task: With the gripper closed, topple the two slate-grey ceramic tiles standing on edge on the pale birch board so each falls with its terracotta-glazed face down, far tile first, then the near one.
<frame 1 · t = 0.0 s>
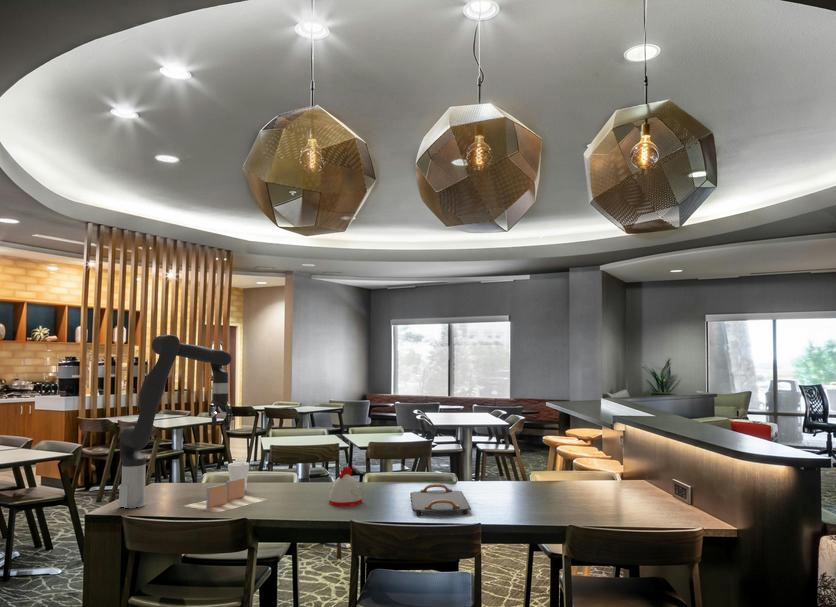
hand: (220, 426, 311), 29 cm above the table, fingers open, 8 cm apart
far tile: (235, 498, 278), point 1 cm above the table, touching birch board
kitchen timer: (345, 503, 272), on the table
foam cup: (238, 492, 296), on the table
near tile: (216, 505, 265), point 1 cm above the table, touching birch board
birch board: (226, 504, 271), on the table
serving board: (438, 507, 263), on the table
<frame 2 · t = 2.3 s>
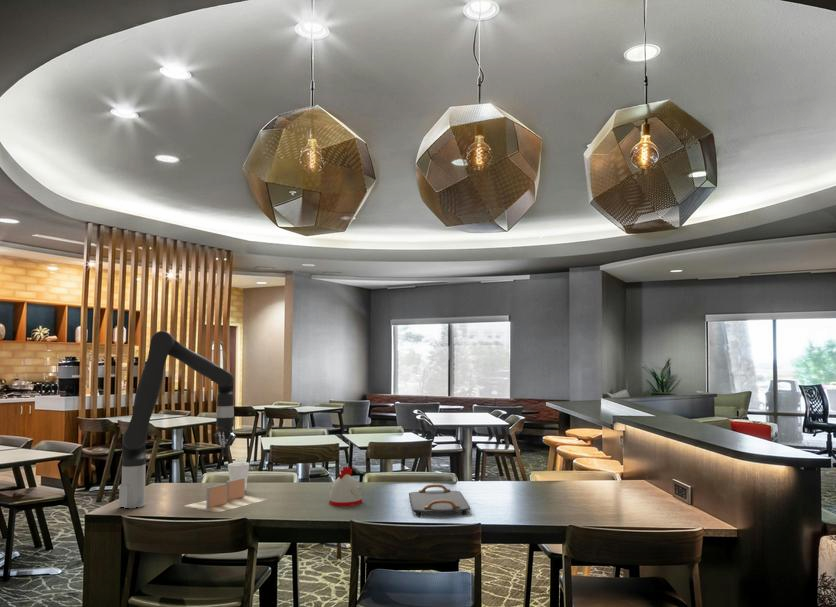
hand: (224, 455, 284), 19 cm above the table, fingers closed
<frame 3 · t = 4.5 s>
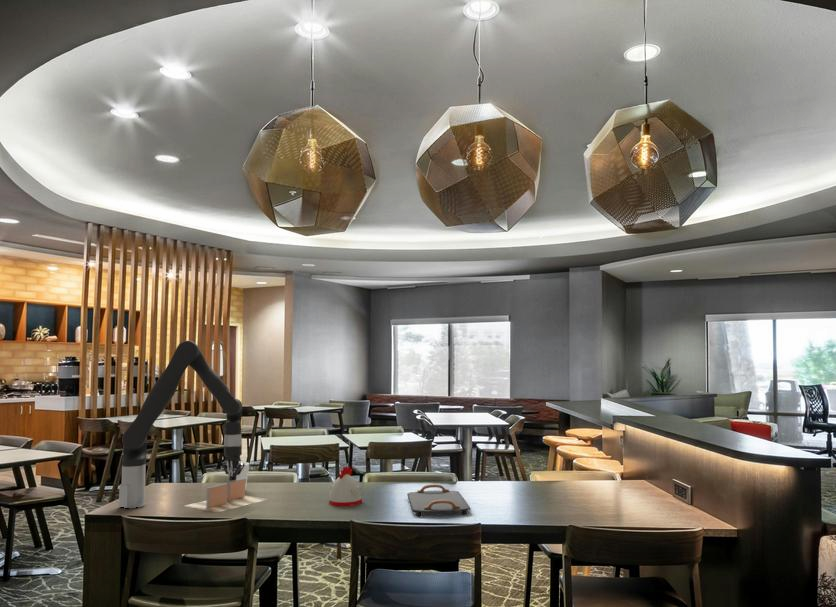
hand: (232, 484, 280), 7 cm above the table, fingers closed
far tile: (235, 498, 278), point 1 cm above the table, tilted 6°, touching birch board
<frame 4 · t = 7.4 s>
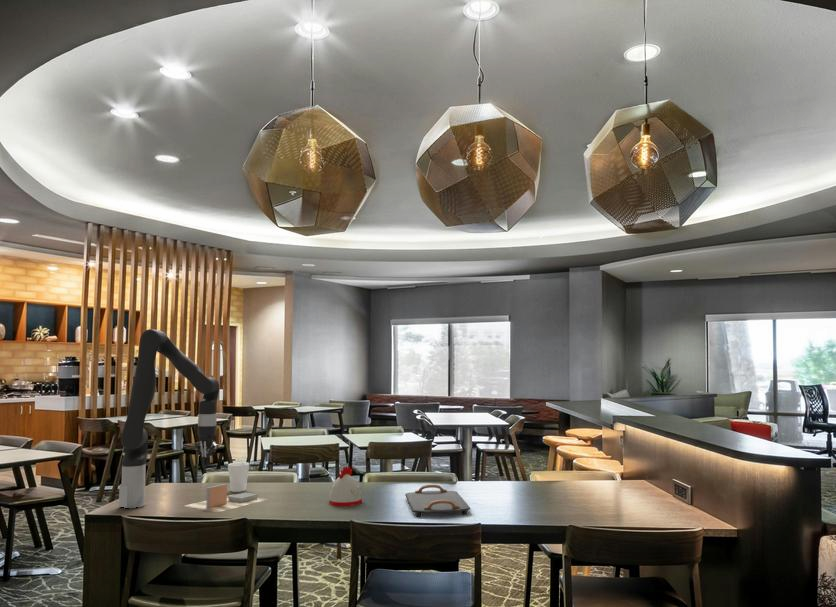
hand: (206, 465, 271), 17 cm above the table, fingers closed
far tile: (236, 496, 278), point 2 cm above the table, tilted 90°, touching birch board
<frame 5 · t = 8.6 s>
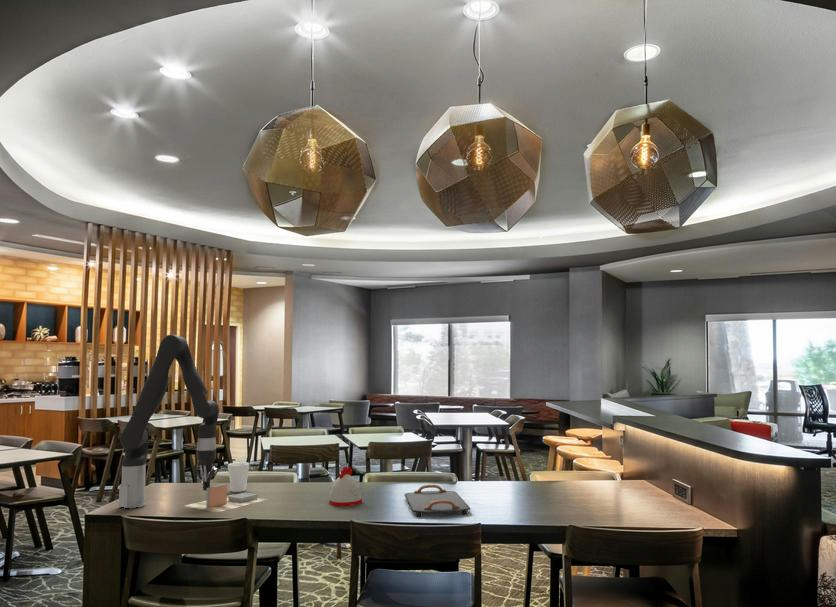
hand: (206, 490, 269), 7 cm above the table, fingers closed
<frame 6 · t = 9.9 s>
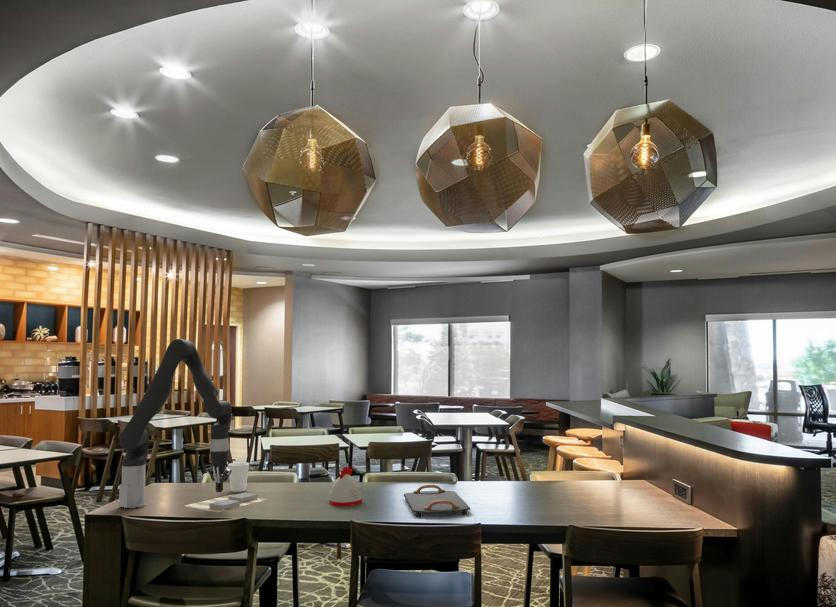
hand: (219, 491, 265), 7 cm above the table, fingers closed
near tile: (218, 503, 265), point 2 cm above the table, tilted 90°, touching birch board
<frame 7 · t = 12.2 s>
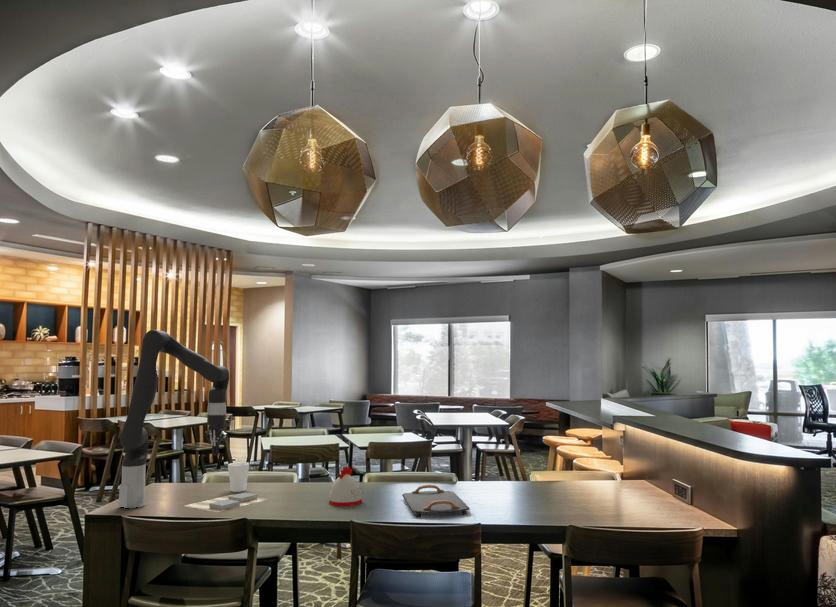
hand: (215, 455, 269), 21 cm above the table, fingers closed
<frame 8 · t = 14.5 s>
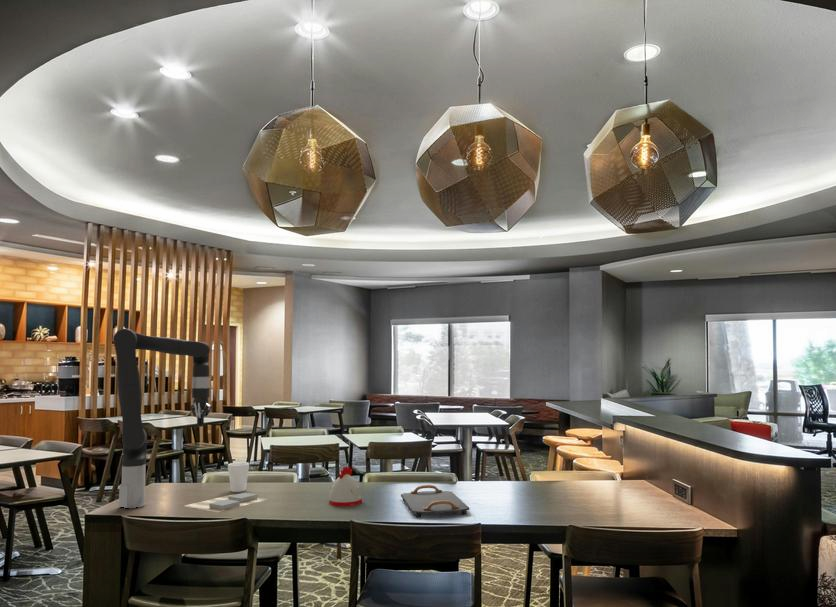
hand: (200, 426, 283), 32 cm above the table, fingers closed
at the end: far tile tilted 90°; near tile tilted 90°; near tile point 2.1 cm above the table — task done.
